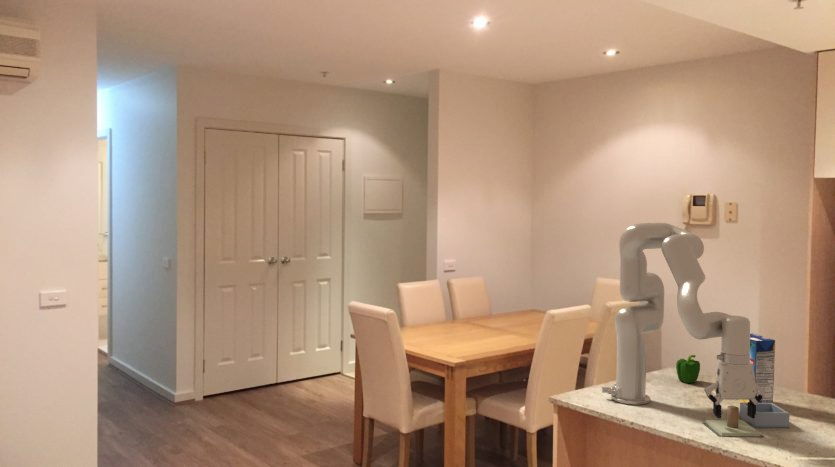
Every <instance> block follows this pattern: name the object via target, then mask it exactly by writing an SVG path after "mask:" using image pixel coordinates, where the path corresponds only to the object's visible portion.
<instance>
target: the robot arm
mask: <svg viewBox="0 0 835 467" xmlns="http://www.w3.org/2000/svg"><path fill="white" fill-rule="evenodd" d="M618 247H619V257H620V259H619V260H620V265H619V266H620V267H619V294H620V297H621V298H622V300H624V301H626V302H628V303H639V305H638V304H635V305H629V306H625V307H622V308H620V309H619V310H618V311H617V312H616V314H615V316H614V328H615V334H616V372H615V375H616V376H615V377H616V378H615V381H616V382H615V383H613V385H612V386H602V387H601V393H603V394H607V395H610V397H611V400H613V401H615V402H617V403H620V404H626V405H635V406H636V405H637V406H638V405H646V404H649V403H650V402H651V397H650V396H649V395H648V394H646V390H647V389H646V388H647V387H646V386H647V344H646V341H645V339H644V336H643V334H649V333H654V332H656V331H658V330H659V329H661V328H662V325H663V323H664V318H665V316H664V315H665V284H664V283H663V280H662V278H661V277H660V276H659V275H658V274H656V273H654V272H650V271H649V272H648V269H647V268H648V260H647V257H646V254H645V252H644V250H651V249H652V250H654V249H655V250H656V249H661V252H662V254H663V257H664V258H665V261H666V263H667V266H668V268H669V270H670V273H671V274H672V276H673V278H674V280H675V283H676V285H677V288H678V289H677V295H676V303H677V306H676V307H677V311H678V314H679V317H680V319H681V321H682V324H683V326H684V328H685V329H686V331H687V332H688V334H689V335H690V336H691V337H693V338H694V339H697V340H701V341H702V340H703V341H704V340H708V339H713V338H714V339H715V338H720V337H721V342H720V343H721V348H720V349H721V350H720V354H717V355H716V359H717V361H718V360H719V361H720V362H718V365H717V368H716V374H715V376H716V377H715V382H714V383H712V384H710V385H708V386H706V387H705V388H704V389H703V390H704V393H705V394H706V397H707V398H708V399H709V400H710V401H711V402H712V403H713V404H712V407H713V409H712V411H713V412H712V414H713V415H714V417H716V418H717V420H722V404H721V403H722V402H723V400H735V401H738V400H739V399H748V400H749V402H748V407H747V415H748V416H749V417H751V418H755V415H756V405H757V404H758V402H759V401H760V400H761V399H762V396H763V395H764V393H765V391H766V390H765V389H764V388H762V387H760V386H758V385H756V384H755V375H754V369H753V365H752V364H750V334H751V321H750V319H749V318H748V317H746V316H741V315H732V314H728V313H725V312H723V311H711V312H710V311H709V312H703V311H702V308H701V306H700V303H699V300H698V290H699V288H700V286H701V285H702V284H703V283H704V282H705V280H706V275H705V272H704V271H703V269H702V266H701V265H700V263H699V259H700V258H701V257H702V256H703V254H704V253H705V246H704V242H703V241H702V239H701V238H700V237H699V236H698V235H697V234H695V233H693V232H691V231H688V230H685V229H683V228H681V227H678V226H675V225H674V224H670V223H667V222H641V223H635V224H632V225H630V226H628V227H626V229H624V230H623V232H622V233H621V234H620V237H619V242H618ZM756 389H757V390H758V393H757V394H756ZM713 391H715V395H713V393H712V392H713Z"/></svg>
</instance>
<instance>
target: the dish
mask: <svg viewBox="0 0 835 467" xmlns="http://www.w3.org/2000/svg"><path fill="white" fill-rule="evenodd" d="M747 407H748V403H742V402H740V403H739V418H740V419H741V420H743V421H744V422H746V423H747V424H749V425H750V426H751V427H753V428H754V429H789V428H790V412H788V411H787V410H785V409H783V408H782V407H781V406H778V405H777V404H776V403H774V402H773V403H758V404H757V405H756V415H755V418H751V417H749V416H748V415H747Z"/></svg>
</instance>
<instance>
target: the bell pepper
mask: <svg viewBox="0 0 835 467" xmlns="http://www.w3.org/2000/svg"><path fill="white" fill-rule="evenodd" d="M693 358H694V359H693ZM695 358H696V355H695V354H691V355H689V356H688V357H687V359H685V358H680V359H678V360H677V361H676V363H675V369H676V374H677V378H678V380H679V381H681V382H683V383H687V384H694V383H695V382H697V380H698V379H699V375H700V371H701V363H700V360H695Z"/></svg>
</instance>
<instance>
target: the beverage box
mask: <svg viewBox="0 0 835 467" xmlns="http://www.w3.org/2000/svg"><path fill="white" fill-rule="evenodd" d="M775 351H776V340H775V339H772V338H768V337H766V336H762V335H759V334H757V333H750V364H752V365H753V369H754V375H755V384H756V385H758V386H760V387H762V388H764V389H765V390H766V391H765V393H764V395H763V396H762V399H761V400H760V401H759V402H758V403H773V404H774V386H775V385H774V382H775V358H776V357H775V354H776V352H775ZM757 393H758V390H757V389H756V394H757ZM737 402H740V403H748V402H749V400H748V399H739V400H737Z"/></svg>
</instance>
